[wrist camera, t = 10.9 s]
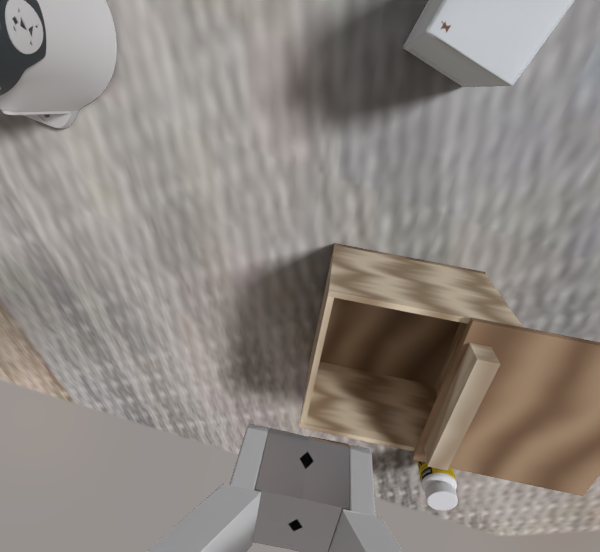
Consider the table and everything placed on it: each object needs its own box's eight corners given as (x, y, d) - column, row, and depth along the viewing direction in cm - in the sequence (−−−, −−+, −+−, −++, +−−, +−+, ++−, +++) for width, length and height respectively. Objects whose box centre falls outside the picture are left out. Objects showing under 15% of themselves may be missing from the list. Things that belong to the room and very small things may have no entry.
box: (309, 360, 55) (299, 427, 44) (334, 243, 46) (329, 290, 36) (436, 386, 54) (457, 460, 43) (484, 272, 46) (524, 329, 35)
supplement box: (463, 89, 38) (510, 91, 27) (400, 47, 37) (421, 31, 26) (518, 9, 35) (599, -27, 23) (450, -39, 34) (499, -101, 22)
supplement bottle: (421, 434, 58) (432, 485, 51) (452, 442, 58) (467, 494, 51) (410, 455, 60) (419, 507, 53) (440, 462, 60) (452, 516, 53)
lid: (412, 455, 43) (416, 479, 41) (471, 317, 35) (481, 336, 32) (580, 490, 43) (595, 517, 40) (681, 358, 34) (709, 381, 32)
